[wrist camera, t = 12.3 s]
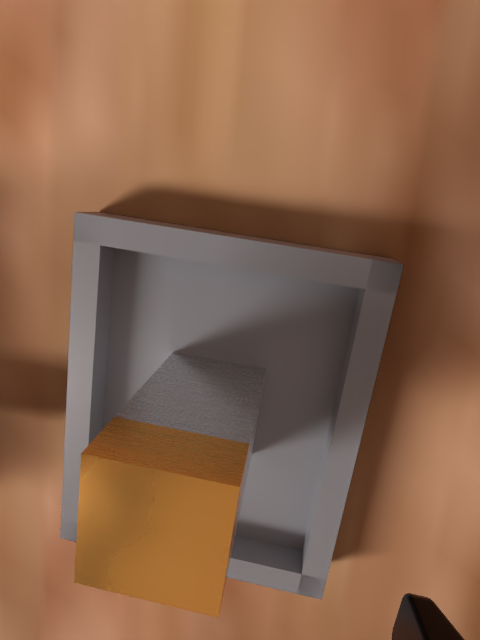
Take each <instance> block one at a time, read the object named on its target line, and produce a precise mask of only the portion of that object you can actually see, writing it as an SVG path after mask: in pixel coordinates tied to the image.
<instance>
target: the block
mask: <svg viewBox="0 0 480 640" xmlns="http://www.w3.org/2000/svg"><path fill="white" fill-rule="evenodd" d="M265 375H266V369H263V368H257V367H252V366H246V365H241V364H236V363H230V362H225V361H219V360H214V359H208V358H203V357H198V356H192V355H187V354H181V353H176V352H173V353H172V354H171V355H170V356H169V357H168V358H167V359H166V360H165V361H164V362H163V364H162V365H161V366H160V367H159V368H158V369H157V370H156V371H155V372H154V374H153V375H152V376H151V377H150V378H149V379H148V380H147V381H146V382H145V383H144V385H143V386H142V387H141V388H140V389H139V390H138V391H137V392H136V393H135V394H134V396H133V397H132V398H131V399H130V400H129V401H128V402H127V403H126V404H125V405H124V407H123V408H122V409H121V410H120V411H119V412H118V413H117V414H116V415H115V417H114V418H113V419H112V420H111V421H110V422H109V423H108V424H107V425H106V426H105V428H104V429H103V430H102V431H101V432H100V433H99V434H98V435H97V436H96V437H95V439H94V440H93V441H92V442H91V443H90V444H89V445H88V446H87V447H86V449H85V450H84V451H83V452H82V453H81V464H80V483H79V502H78V521H77V540H76V559H75V578H74V583H78V584H82V585H86V586H90V587H95V588H99V589H103V590H107V591H111V592H115V593H119V594H123V595H127V596H132V597H136V598H140V599H144V600H148V601H152V602H156V603H160V604H164V605H169V606H173V607H177V608H181V609H185V610H189V611H193V612H197V613H201V614H206V615H210V616H214V617H219V612H220V607H221V602H222V597H223V592H224V588H225V583H226V578H227V573H228V568H229V563H230V558H231V554H232V549H233V544H234V539H235V534H236V529H237V524H238V520H239V515H240V510H241V505H242V500H243V495H244V490H245V486H246V481H247V476H248V471H249V466H250V461H251V456H252V451H253V445H254V439H255V433H256V428H257V422H258V416H259V410H260V404H261V398H262V392H263V386H264V380H265Z"/></svg>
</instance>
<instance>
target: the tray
mask: <svg viewBox="0 0 480 640" xmlns="http://www.w3.org/2000/svg"><path fill="white" fill-rule="evenodd" d="M403 266H404V264H402V263H400V262H398V261H396V260H395V259H392V258H386V257H379V256H373V255H367V254H360V253H354V252H348V251H341V250H335V249H329V248H322V247H316V246H310V245H304V244H297V243H291V242H285V241H278V240H272V239H266V238H259V237H253V236H247V235H240V234H234V233H228V232H221V231H215V230H209V229H202V228H196V227H190V226H184V225H177V224H171V223H165V222H158V221H152V220H146V219H139V218H133V217H127V216H120V215H114V214H108V213H101V212H75V218H74V241H73V264H72V287H71V309H70V332H69V355H68V378H67V400H66V423H65V446H64V469H63V491H62V514H61V537H60V538H62V539H66V540H70V541H75V542H76V540H77V521H78V502H79V483H80V464H81V453H82V452H83V451H84V450H85V449H86V447H87V446H88V445H89V444H90V443H91V442H92V441H93V440H94V439H95V437H96V436H97V435H98V434H99V433H100V432H101V431H102V430H103V429H104V428H105V426H106V425H107V424H108V423H109V422H110V421H111V420H112V419H113V418H114V417H115V415H116V414H117V413H118V412H119V411H120V410H121V409H122V408H123V407H124V405H125V404H126V403H127V402H128V401H129V400H130V399H131V398H132V397H133V396H134V394H135V393H136V392H137V391H138V390H139V389H140V388H141V387H142V386H143V385H144V383H145V382H146V381H147V380H148V379H149V378H150V377H151V376H152V375H153V374H154V372H155V371H156V370H157V369H158V368H159V367H160V366H161V365H162V364H163V362H164V361H165V360H166V359H167V358H168V357H169V356H170V355H171V354H172V353H173V352H176V353H181V354H187V355H192V356H198V357H203V358H208V359H214V360H219V361H225V362H230V363H236V364H241V365H246V366H252V367H257V368H263V369H266V375H265V380H264V386H263V392H262V398H261V404H260V410H259V416H258V422H257V428H256V433H255V439H254V445H253V451H252V456H251V461H250V466H249V471H248V476H247V481H246V486H245V490H244V495H243V500H242V505H241V510H240V515H239V520H238V524H237V529H236V534H235V539H234V544H233V549H232V554H231V558H230V563H229V568H228V573H227V577H228V578H232V579H236V580H240V581H244V582H249V583H253V584H257V585H261V586H266V587H270V588H274V589H278V590H283V591H287V592H291V593H295V594H300V595H304V596H308V597H312V598H317V599H321V600H322V596H323V592H324V588H325V584H326V580H327V576H328V572H329V568H330V564H331V560H332V556H333V551H334V547H335V543H336V539H337V535H338V531H339V527H340V523H341V519H342V515H343V511H344V507H345V502H346V498H347V494H348V490H349V486H350V482H351V478H352V474H353V470H354V466H355V462H356V457H357V453H358V449H359V445H360V441H361V437H362V433H363V429H364V425H365V421H366V417H367V413H368V408H369V404H370V400H371V396H372V392H373V388H374V384H375V380H376V376H377V372H378V368H379V364H380V359H381V355H382V351H383V347H384V343H385V339H386V335H387V331H388V327H389V323H390V319H391V315H392V310H393V306H394V302H395V298H396V294H397V290H398V286H399V282H400V278H401V274H402V270H403Z"/></svg>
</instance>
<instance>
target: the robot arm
mask: <svg viewBox="0 0 480 640" xmlns="http://www.w3.org/2000/svg"><path fill="white" fill-rule="evenodd" d="M392 640H464V639H463V637H462V636H461V635H460V634H459V632H458V631H457V630H456V629H455V628H454V626H453V625H452V624H451V623H450V621H449V620H448V619H447V618H446V616H445V615H444V614H443V613H442V612H441V610H440V609H439V608H438V607H437V605H436V604H435V603H434V602H433V601H432V600H431V599H430V598H427V597H424V596H419V595H415V594H411V593H408V594H405V595H404V597H403V599H402V601H401V605H400V608H399V611H398V614H397V618H396V621H395V624H394V627H393V632H392Z"/></svg>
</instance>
